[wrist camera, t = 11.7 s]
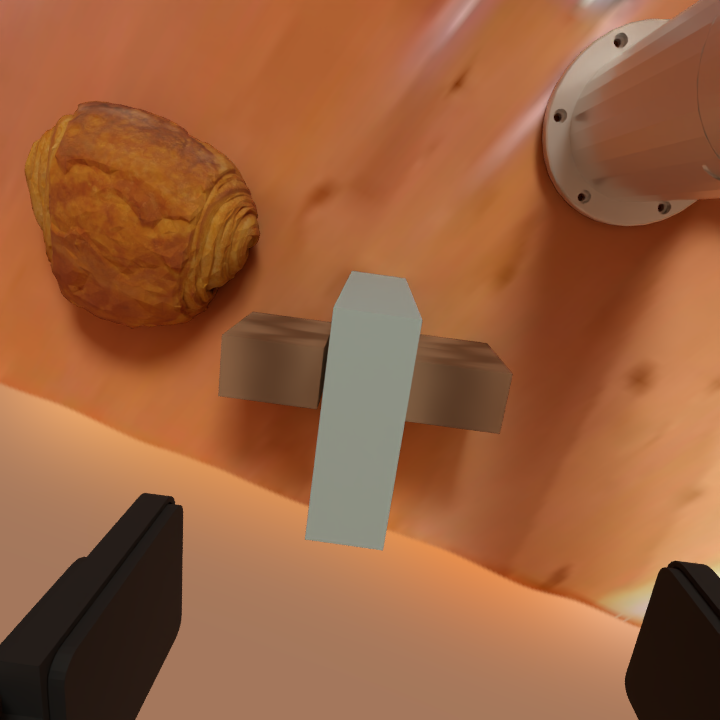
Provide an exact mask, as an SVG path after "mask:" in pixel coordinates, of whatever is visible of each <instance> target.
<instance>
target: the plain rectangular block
mask: <svg viewBox="0 0 720 720" xmlns="http://www.w3.org/2000/svg"><path fill="white" fill-rule="evenodd" d="M421 325H422V318H421V316H420V313H419V311H418V308H417V306H416V303H415V301H414V298H413V296H412V293H411V291H410V288H409V286H408V283H407V281H406V279H405V278H398V277H391V276H384V275H377V274H370V273H363V272H356V271H352V272H351V274H350V276H349V278H348V280H347V282H346V284H345V286H344V288H343V290H342V292H341V294H340V296H339V298H338V300H337V302H336V304H335V306H334V308H333V316H332V324H331V332H330V340H329V348H328V356H327V365H326V373H325V381H324V389H323V397H322V405H321V413H320V421H319V429H318V437H317V446H316V454H315V462H314V470H313V478H312V486H311V494H310V502H309V510H308V519H307V527H306V535H305V540H312V541H320V542H327V543H334V544H342V545H348V546H356V547H362V548H369V549H377V550H383V547H384V541H385V535H386V530H387V524H388V518H389V512H390V506H391V500H392V495H393V489H394V483H395V477H396V471H397V465H398V459H399V454H400V448H401V442H402V436H403V430H404V424H405V418H406V412H407V407H408V401H409V395H410V389H411V383H412V377H413V371H414V366H415V360H416V354H417V348H418V342H419V336H420V330H421Z"/></svg>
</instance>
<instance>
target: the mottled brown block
mask: <svg viewBox="0 0 720 720" xmlns="http://www.w3.org/2000/svg"><path fill="white" fill-rule="evenodd" d="M331 324H332V323H331V322H324V321H317V320H309V319H302V318H294V317H287V316H279V315H272V314H264V313H257V312H252V313H250V314H249V315H248V316H246V317H245V318H244V319H242V320H241V321H240V322H239V323H237V324H236V325H235V326H233V327H232V328H231V329H229V330H228V331H227V332H225V333H224V334H223V335H222V344H221V361H220V378H219V394H218V396H222V397H230V398H237V399H244V400H252V401H259V402H267V403H274V404H282V405H289V406H296V407H304V408H311V409H317V407H318V404H319V401H320V398H321V395H322V392H323V389H324V381H325V373H326V365H327V356H328V348H329V340H330V332H331ZM512 375H513V374H512V373H511V371H510V370H509V369H508V368H507V367H506V365H505V364H504V363H503V362H502V361H501V359H500V358H499V357H498V356H497V355H496V353H495V352H494V351H493V350H492V349H491V347H490V346H489V345H488V344H487V343H480V342H473V341H465V340H458V339H450V338H443V337H436V336H428V335H421V334H420V336H419V342H418V348H417V354H416V360H415V366H414V371H413V377H412V383H411V389H410V395H409V401H408V407H407V412H406V418H405V421H408V422H415V423H423V424H430V425H438V426H445V427H452V428H460V429H467V430H475V431H482V432H490V433H497V434H500V430H501V426H502V421H503V417H504V412H505V407H506V403H507V398H508V394H509V389H510V384H511V380H512Z"/></svg>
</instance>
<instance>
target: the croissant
mask: <svg viewBox="0 0 720 720" xmlns="http://www.w3.org/2000/svg"><path fill="white" fill-rule="evenodd" d="M25 176H26V181H27V185H28V188H29V192H30V197H31V203H32V209H33V211H34V215H35V217H36V220H37V222H38V224H39V226H40V227H41V229H42V230H43V235H44V242H45V245H46V254H47V256H48V259H49V261H50V262H51V268H52V272H53V274H54V275H55V277H56V279H57V281H58V284H59V287H60V290H61V293H62V295H63V296H64V297H65V298H66V299H67V300H68V301H70V302H71V303H73V304H74V305H76V306H78V307H82V308H84V309H86V310H87V311H89V312H90V313H92V314H93V315H95V316H97V317H99V318H101V319H105V320H109V321H112V322H115V323H119V324H125V325H127V326H128V327H130V328H132V329H133V328H135V327H138V326H142V325H144V326H149V327H152V326H158V325H173V324H178V323H187V322H188V321H190V320H192V319H193V317H194V316H196V315H197V314H199V313H201V312H203V311H206V310H207V309H208V308H209V307H208V305H207V304H208V303H209V302H210V301H211V300H212V299H213V298H214V296H215V295H216V292H217V288H218V287H222V286H223V285H224V284H225V283H226V282H228V281H230V279H233V278H234V275H235V274H236V272H238V271H239V270H240V269H242V268H243V266H244V264H245V262H246V260H247V258H248V250H249V248H250V247H253V246H254V245H256V243H257V242H258V240H259V236H260V232H259V225H258V222H257V218H258V214H257V209H256V205H255V203H254V202H253V200H252V198H251V193H250V191H249V189H248V188H247V186H246V184H245V181H244V180H243V178H242V176H241V174H240V172H239V170H238V169H237V168H236V166H235V165H234V164H233V163H232V162H231V161H230V160H229V159H228V158H227V157H226V156H225V155H224V154H222V153H221V152H219V151H218V150H217V149H215V148H214V147H212V146H211V145H210V144H208V143H206V142H201V141H200V140H198V139H196V138H194V137H193V136H191V135H189V134H188V132H187V131H186V130H185V129H184V128H182V127H181V126H179V125H178V124H176V123H174V122H172V121H170V120H168V119H166V118H164V117H161V116H158V115H155V114H152V113H150V112H147V111H144V110H141V109H136V108H132V107H128V106H124V105H119V104H112V103H109V102H99V101H91V102H85V103H82V104H79V106H78V109H77V111H75V113H74V115H64V116H62V117H61V118H60V119H59V120H58V122H57V123H56V125H55V126H54V127H53V128H52V129H50V130H47V131H46V132H45V133H44V134H43V135H42V137H41V138H40V139H39V140H37V141H35V142H34V143H33V145H32V148H31V150H30V153H29V155H28V159H27V161H26V164H25Z"/></svg>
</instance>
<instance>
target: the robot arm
mask: <svg viewBox="0 0 720 720" xmlns="http://www.w3.org/2000/svg"><path fill="white" fill-rule="evenodd" d="M614 41H617V42H618V48H617V47H616V46H615V45H614ZM555 114H557V115H559V121H558V122H556V121H555V120H554V115H555ZM542 146H543V155H544V161H545V164H546V167H547V171H548V174H549V177H550V178H551V180H552V182H553V184H554V186H555V188H556V189H557V191H558V192H559V194H560V195H561V196H562V197H563V198H564V199H565V201H566V202H567V203H568V204H569V205H570V206H572V207H573V208H574V209H576V210H577V211H578V212H579V213H581V214H582V215H584V216H587V217H589V218H591V219H593V220H595V221H598V222H602V223H606V224H610V225H620V226H636V225H646V224H650V223H654V222H658V221H662V220H664V219H667V218H669V217H671V216H673V215H676V214H678V213H680V212H681V211H683V210H684V209H686V208H687V207H689V206H690V205H692V204H693V203H695V202H696V201H697V200H698V199H716V198H720V0H699V1H698V2H696V3H695V4H693V5H692V6H690V7H689V8H687V9H686V10H684V11H683V12H681V13H680V14H679V15H677V16H676V17H674V18H673V19H647V20H642V21H637V22H631V23H629V24H626V25H624V26H621V27H619V28H616V29H614V30H611V31H610V32H608V33H607V34H605V35H603V36H602V37H600V38H599V39H597V40H596V41H594V42H593V43H592V44H590V45H589V46H588V47H587V48H586V49H584V50H583V51H582V52H581V53H580V54H579V55H578V56H577V57H576V58H575V59H574V60H573V62H572V63H571V64H570V65H569V66H568V67H567V68H566V70H565V71H564V73H563V75H562V76H561V78H560V79H559V81H558V82H557V84H556V86H555V88H554V90H553V93H552V95H551V97H550V99H549V102H548V105H547V109H546V113H545V117H544V121H543V133H542ZM579 194H582V195H583V199H582V200H581V201H579V200H578V195H579ZM659 204H660V206H661V209H660V211H658V206H659ZM182 546H183V508H182V506H181V505H175V501H174V498H173V497H172V496H164V495H156V494H148V493H143V494H142V495H140V497H139V498H138V499H137V500H136V501H135V502H134V503H133V504H132V506H131V507H130V508H129V509H128V510H127V511H126V513H125V514H124V515H123V516H122V517H121V518H120V519H119V521H118V522H117V523H116V524H115V525H114V526H113V527H112V529H111V530H110V531H109V532H108V533H107V534H106V535H105V537H104V538H103V539H102V540H101V541H100V542H99V544H98V545H97V546H96V547H95V548H94V549H93V550H92V552H91V553H90V554H89V555H88V556H87V557H82V558H79V559H77V560H76V561H75V562H74V563H73V564H72V565H71V566H70V567H69V568H68V569H67V570H66V571H65V573H64V574H63V575H62V576H61V577H60V578H59V579H58V580H57V581H56V583H55V584H54V585H53V586H52V587H51V588H50V589H49V591H48V592H47V593H46V594H45V595H44V596H43V597H42V598H41V599H40V600H39V602H38V603H37V604H36V605H35V606H34V607H33V608H32V609H31V611H30V612H29V613H28V614H27V615H26V616H25V617H24V618H23V620H22V621H21V622H20V623H19V624H18V625H17V626H16V627H15V628H14V630H13V631H12V632H11V633H10V634H9V635H8V636H7V637H6V639H5V640H4V641H3V642H2V643H1V644H0V720H135V719H136V717H137V715H138V713H139V711H140V708H141V707H142V705H143V703H144V701H145V699H146V697H147V695H148V693H149V691H150V689H151V687H152V685H153V683H154V681H155V679H156V677H157V675H158V673H159V671H160V669H161V667H162V665H163V663H164V661H165V659H166V657H167V655H168V653H169V651H170V649H171V647H172V645H173V643H174V641H175V639H176V636H177V634H178V631H179V627H180V624H181V615H182V553H183V550H182V549H183V547H182ZM625 688H626V693H627V696H628V699H629V701H630V703H631V705H632V707H633V709H634V711H635V713H636V715H637V717H638V719H639V720H720V578H719V577H718V576H717V574H716V573H715V572H714V571H713V570H712V569H711V568H710V567H709V566H707V565H704V564H696V563H688V562H681V561H673V562H671V563H670V564H669V565H668V567H667V568H666V567H664V568H662V569H661V570H660V571H659V573H658V576H657V579H656V582H655V585H654V588H653V591H652V595H651V598H650V601H649V604H648V607H647V610H646V613H645V616H644V619H643V623H642V626H641V629H640V632H639V635H638V638H637V641H636V644H635V648H634V651H633V654H632V657H631V660H630V663H629V666H628V669H627V672H626V676H625Z"/></svg>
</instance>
